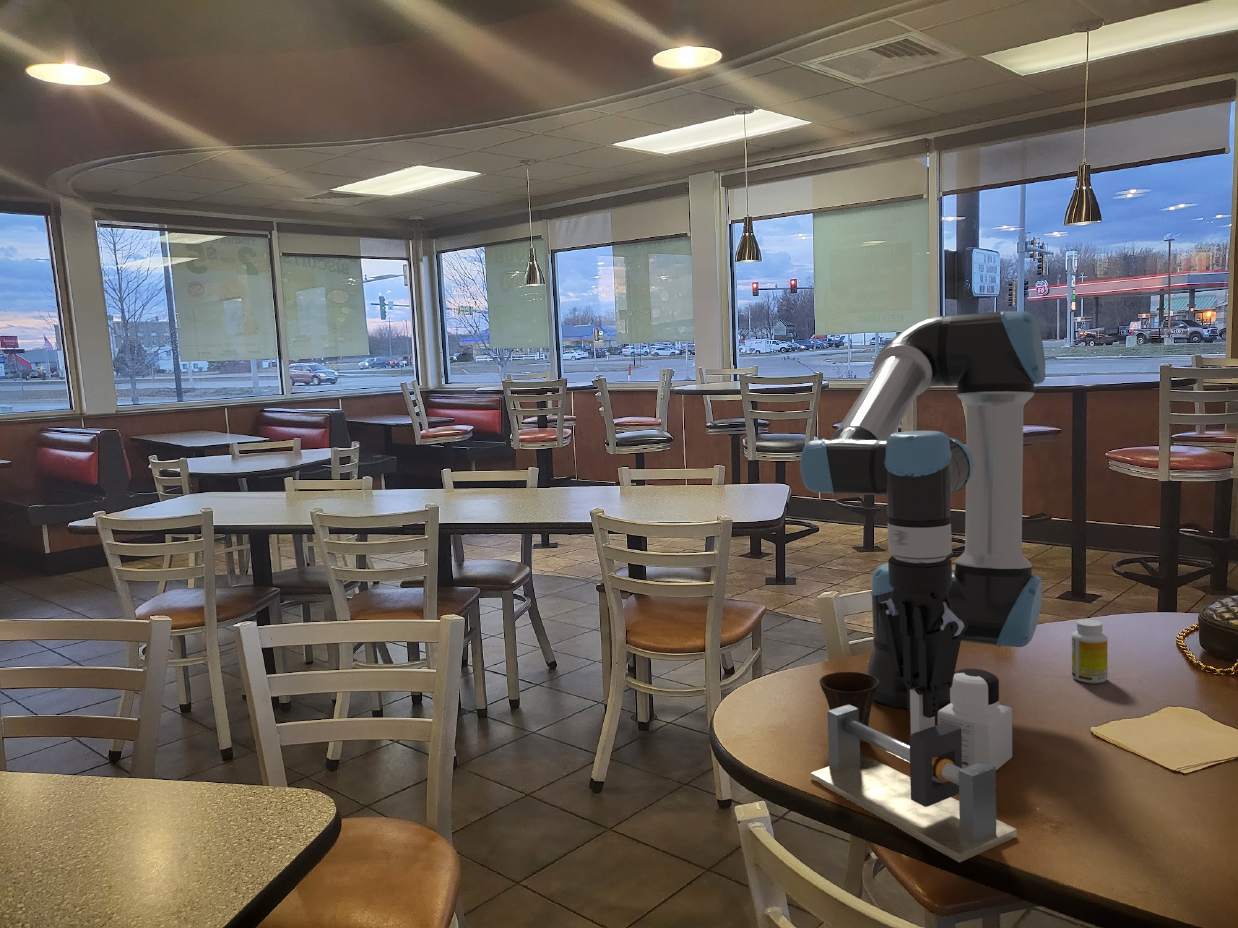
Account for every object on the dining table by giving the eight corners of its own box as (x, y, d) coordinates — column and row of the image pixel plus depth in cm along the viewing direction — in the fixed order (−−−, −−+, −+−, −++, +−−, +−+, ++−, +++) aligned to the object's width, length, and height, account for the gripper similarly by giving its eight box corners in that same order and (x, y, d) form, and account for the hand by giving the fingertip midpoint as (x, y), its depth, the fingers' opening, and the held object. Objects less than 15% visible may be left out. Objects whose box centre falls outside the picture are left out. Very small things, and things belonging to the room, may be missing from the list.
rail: (810, 779, 129) (808, 714, 128) (863, 760, 134) (861, 698, 133) (959, 862, 107) (958, 784, 106) (1016, 836, 111) (1016, 762, 110)
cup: (813, 746, 138) (815, 680, 138) (822, 730, 147) (824, 668, 147) (874, 754, 135) (876, 686, 135) (879, 737, 144) (881, 674, 144)
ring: (910, 799, 115) (909, 734, 114) (947, 785, 118) (946, 722, 117) (925, 807, 113) (924, 741, 112) (962, 792, 116) (961, 728, 115)
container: (961, 743, 138) (960, 660, 136) (1013, 757, 132) (1012, 671, 131) (937, 761, 133) (935, 675, 131) (990, 776, 127) (989, 686, 126)
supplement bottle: (1114, 682, 158) (1115, 624, 157) (1087, 686, 157) (1087, 628, 156) (1091, 671, 164) (1091, 616, 163) (1064, 675, 163) (1064, 620, 162)
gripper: (859, 552, 118) (864, 728, 120) (939, 569, 106) (942, 764, 109) (902, 543, 121) (905, 715, 124) (983, 560, 110) (985, 748, 112)
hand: (923, 737), depth 116 cm, fingers closed
